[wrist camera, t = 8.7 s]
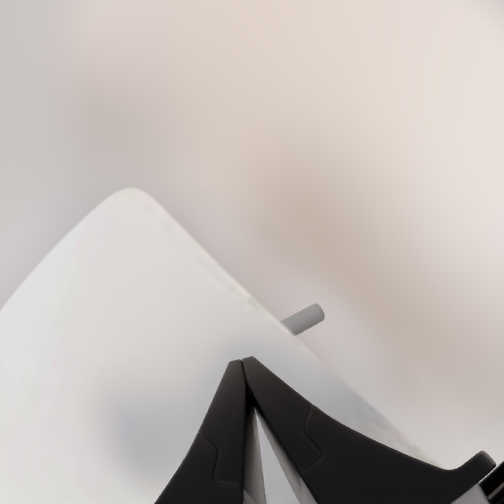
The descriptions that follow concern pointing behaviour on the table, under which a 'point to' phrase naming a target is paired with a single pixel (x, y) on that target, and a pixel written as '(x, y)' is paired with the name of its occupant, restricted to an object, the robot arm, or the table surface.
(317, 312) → the beverage can
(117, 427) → the table surface
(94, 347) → the table surface
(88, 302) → the table surface
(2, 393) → the table surface
